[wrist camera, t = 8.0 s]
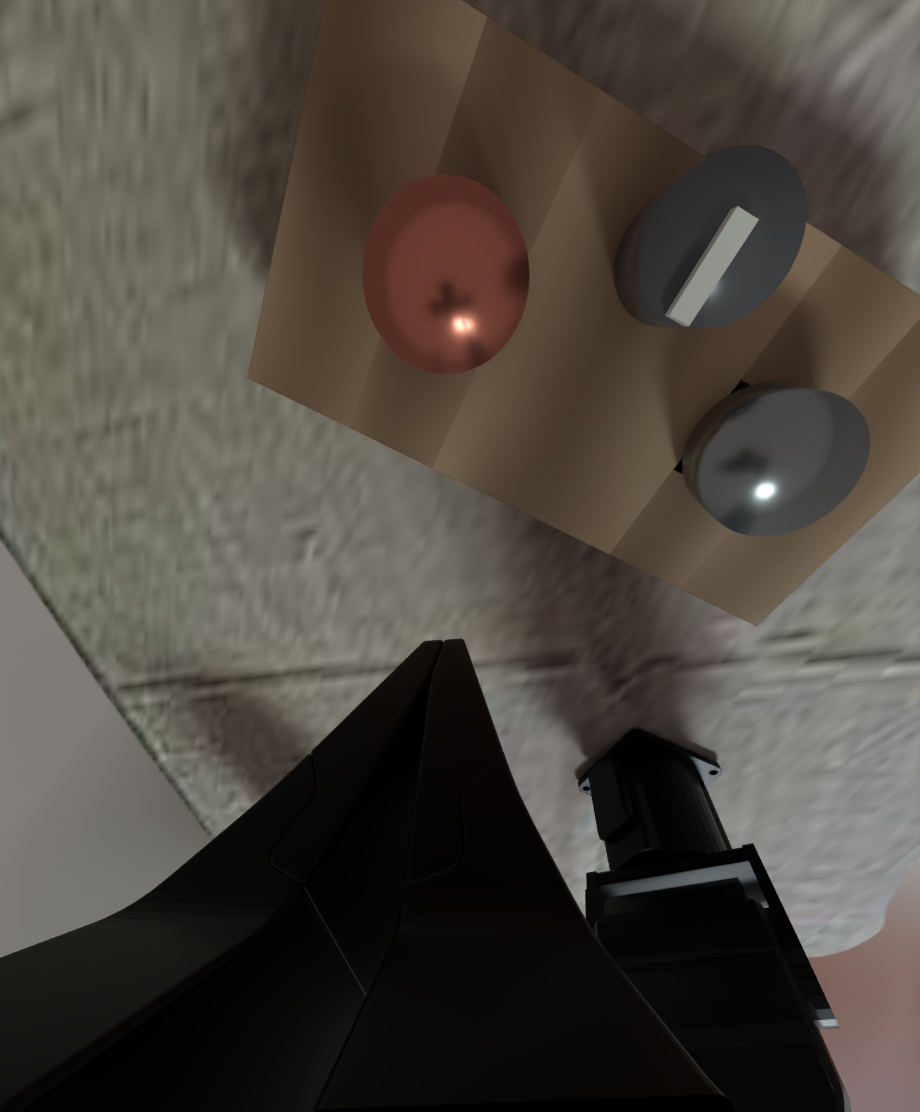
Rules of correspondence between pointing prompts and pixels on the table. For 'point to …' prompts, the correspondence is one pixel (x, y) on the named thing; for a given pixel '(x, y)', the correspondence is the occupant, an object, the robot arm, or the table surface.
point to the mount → (561, 305)
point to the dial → (713, 241)
